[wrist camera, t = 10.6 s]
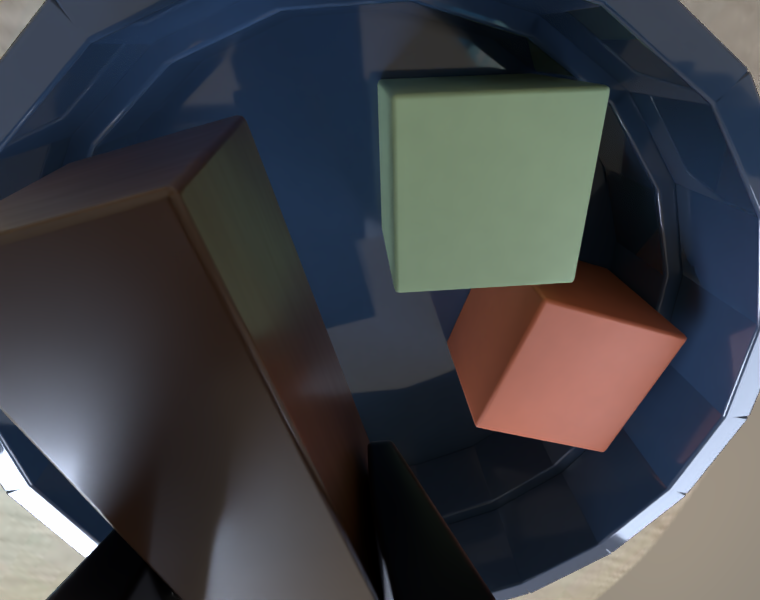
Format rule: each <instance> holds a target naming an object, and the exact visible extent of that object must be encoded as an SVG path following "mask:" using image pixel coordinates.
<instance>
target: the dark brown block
mask: <svg viewBox="0 0 760 600" xmlns="http://www.w3.org/2000/svg"><path fill="white" fill-rule="evenodd" d="M0 409H1V410H2V411H3V412H4V413H5V414H6V416H7V417H8V418H9V419H10V420H11V421H12V422H13V423H14V424H15V425H16V426H17V427H18V428H19V429H20V430H21V431H22V432H23V433H24V434H25V436H26V437H27V438H28V439H29V440H30V441H31V442H32V443H33V444H34V445H35V446H36V447H37V448H38V449H39V450H40V451H41V452H42V453H43V455H44V456H45V457H46V458H47V459H48V460H49V461H50V462H51V463H52V464H53V465H54V466H55V467H56V468H57V469H58V470H59V471H60V472H61V473H62V475H63V476H64V477H65V478H66V479H67V480H68V481H69V482H70V483H71V484H72V485H73V486H74V487H75V488H76V489H77V490H78V491H79V492H80V494H81V495H82V496H83V497H84V498H85V499H86V500H87V501H88V502H89V503H90V504H91V505H92V506H93V507H94V508H95V509H96V510H97V511H98V513H99V514H100V515H101V516H102V517H103V518H104V519H105V520H106V521H107V522H108V523H109V524H110V525H111V526H112V527H113V528H114V529H115V530H116V531H117V533H118V534H119V535H120V536H121V537H122V538H123V539H124V540H125V541H126V542H127V543H128V544H129V545H130V546H131V547H132V548H133V549H134V550H135V552H136V553H137V554H138V555H139V556H140V557H141V558H142V559H143V560H144V561H145V562H146V563H147V564H148V565H149V566H150V567H151V568H152V569H153V570H154V572H155V573H156V574H157V575H158V576H159V577H160V578H161V579H162V580H163V581H164V582H165V583H166V584H167V585H168V586H169V587H170V588H171V589H172V591H173V592H174V593H175V594H176V595H177V596H178V597H179V598H180V599H181V600H383V596H382V590H381V585H380V579H379V572H378V566H377V558H376V549H375V541H374V532H373V524H372V515H371V506H370V494H369V474H368V454H367V445H368V443H370V442H369V439H368V437H367V434H366V431H365V429H364V426H363V423H362V421H361V418H360V416H359V413H358V410H357V408H356V405H355V403H354V400H353V397H352V395H351V392H350V390H349V387H348V384H347V382H346V379H345V377H344V374H343V371H342V369H341V366H340V364H339V361H338V358H337V356H336V353H335V351H334V348H333V345H332V343H331V340H330V337H329V335H328V332H327V330H326V327H325V324H324V322H323V319H322V317H321V314H320V311H319V309H318V306H317V304H316V301H315V298H314V296H313V293H312V291H311V288H310V285H309V283H308V280H307V278H306V275H305V272H304V270H303V267H302V265H301V262H300V259H299V257H298V254H297V251H296V249H295V246H294V244H293V241H292V238H291V236H290V233H289V231H288V228H287V225H286V223H285V220H284V218H283V215H282V212H281V210H280V207H279V205H278V202H277V199H276V197H275V194H274V192H273V189H272V186H271V184H270V181H269V179H268V176H267V173H266V171H265V168H264V165H263V163H262V160H261V158H260V155H259V152H258V150H257V147H256V145H255V142H254V139H253V137H252V134H251V132H250V129H249V126H248V124H247V121H246V120H245V119H244V117H243V116H239V115H235V116H232V117H228V118H225V119H221V120H218V121H214V122H211V123H207V124H204V125H200V126H197V127H193V128H190V129H186V130H183V131H179V132H176V133H172V134H169V135H165V136H162V137H159V138H155V139H152V140H148V141H145V142H141V143H138V144H134V145H131V146H127V147H124V148H120V149H117V150H113V151H110V152H106V153H103V154H99V155H96V156H92V157H89V158H85V159H82V160H78V161H75V162H71V163H68V164H67V165H65V166H63V167H61V168H59V169H57V170H56V171H54V172H52V173H50V174H48V175H46V176H45V177H43V178H41V179H39V180H37V181H35V182H34V183H32V184H30V185H28V186H26V187H24V188H23V189H21V190H19V191H17V192H15V193H13V194H12V195H10V196H8V197H6V198H4V199H2V200H0Z"/></svg>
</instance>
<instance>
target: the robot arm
mask: <svg viewBox="0 0 760 600" xmlns="http://www.w3.org/2000/svg"><path fill="white" fill-rule="evenodd" d="M367 454H368V474H369V494H370V506H371V515H372V524H373V532H374V541H375V549H376V558H377V566H378V572H379V579H380V585H381V590H382V596H383V600H496V599H495V597H494V596H493V594H492V593H491V591H490V590H489V588H488V587H487V585H486V584H485V582H484V581H483V579H482V578H481V576H480V574H479V573H478V571H477V570H476V568H475V567H474V565H473V564H472V562H471V561H470V559H469V558H468V556H467V555H466V553H465V552H464V550H463V548H462V547H461V545H460V544H459V542H458V541H457V539H456V538H455V536H454V535H453V533H452V532H451V530H450V529H449V527H448V526H447V524H446V522H445V521H444V519H443V518H442V516H441V515H440V513H439V512H438V510H437V509H436V507H435V506H434V504H433V503H432V501H431V499H430V498H429V496H428V495H427V493H426V492H425V490H424V489H423V487H422V486H421V484H420V483H419V481H418V480H417V478H416V477H415V475H414V473H413V472H412V470H411V469H410V467H409V466H408V464H407V463H406V461H405V460H404V458H403V457H402V455H401V454H400V452H399V451H398V449H397V447H396V446H395V444H394V443H393V442H392V441H390V440H385V441H375V442H370V443H368V445H367ZM46 600H181V599H180V598H179V597H178V596H177V595H176V594H175V593H174V592H173V591H172V589H171V588H170V587H169V586H168V585H167V584H166V583H165V582H164V581H163V580H162V579H161V578H160V577H159V576H158V575H157V574H156V573H155V572H154V570H153V569H152V568H151V567H150V566H149V565H148V564H147V563H146V562H145V561H144V560H143V559H142V558H141V557H140V556H139V555H138V554H137V553H136V552H135V550H134V549H133V548H132V547H131V546H130V545H129V544H128V543H127V542H126V541H125V540H124V539H123V538H122V537H121V536H120V535H119V534H118V533H117V531H116V530H115V529H113V530H112V531H111V532H110V534H109V535H108V536H107V537H106V538H105V539H104V540H103V541H102V542H101V543H100V544H99V545H98V546H97V547H96V548H95V549H94V550H93V551H92V552H91V553H90V554H89V555H88V556H87V557H86V558H85V559H84V560H83V562H82V563H81V564H80V565H79V566H78V567H77V568H76V569H75V570H74V571H73V572H72V573H71V574H70V575H69V576H68V577H67V578H66V579H65V580H64V581H63V582H62V583H61V584H60V585H59V586H58V587H57V588H56V590H55V591H54V592H53V593H52V594H51V595H50V596H49V597H48V598H47V599H46Z"/></svg>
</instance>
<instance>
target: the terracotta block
mask: <svg viewBox="0 0 760 600" xmlns="http://www.w3.org/2000/svg"><path fill="white" fill-rule="evenodd" d="M686 340H687V337H686V336H685V335H684V334H683V333H682V332H681V331H680V330H678V329H677V328H676V327H675V326H674V325H673V324H671V323H670V322H669V321H668V320H667V319H666V318H664V317H663V316H662V315H661V314H660V313H659V312H657V311H656V310H655V309H654V308H653V307H651V306H650V305H649V304H648V303H647V302H646V301H644V300H643V299H642V298H641V297H640V296H639V295H637V294H636V293H635V292H634V291H633V290H632V289H630V288H629V287H628V286H627V285H626V284H625V283H623V282H622V281H621V280H620V279H619V278H617V277H616V276H615V275H614V274H613V273H612V272H610V271H609V270H608V269H606V268H603V267H600V266H596V265H593V264H589V263H586V262H582V261H579V260H578V262H577V268H576V273H575V278H574V281H573V282H570V283H554V284H537V285H521V286H504V287H487V288H471V290H470V293H469V295H468V297H467V299H466V301H465V304H464V306H463V308H462V310H461V312H460V315H459V317H458V319H457V321H456V323H455V326H454V328H453V330H452V332H451V334H450V337H449V339H448V341H447V345H448V348H449V351H450V354H451V357H452V360H453V363H454V365H455V368H456V371H457V374H458V377H459V380H460V383H461V386H462V389H463V392H464V394H465V397H466V400H467V403H468V406H469V409H470V412H471V415H472V418H473V421H474V423H475V425H476V427H478V428H483V429H488V430H493V431H498V432H503V433H508V434H513V435H518V436H523V437H528V438H533V439H538V440H543V441H549V442H554V443H559V444H564V445H569V446H574V447H579V448H584V449H589V450H594V451H599V452H604V451H606V450H607V448H608V447H609V446H610V444H611V443H612V441H613V440H614V439H615V437H616V436H617V435H618V433H619V432H620V430H621V429H622V428H623V426H624V425H625V424H626V422H627V421H628V420H629V418H630V417H631V415H632V414H633V413H634V411H635V410H636V409H637V407H638V406H639V404H640V403H641V402H642V400H643V399H644V398H645V396H646V395H647V394H648V392H649V391H650V389H651V388H652V387H653V385H654V384H655V383H656V381H657V380H658V379H659V377H660V376H661V374H662V373H663V372H664V370H665V369H666V368H667V366H668V365H669V363H670V362H671V361H672V359H673V358H674V357H675V355H676V354H677V353H678V351H679V350H680V348H681V347H682V346H683V344H684V343H685V342H686Z"/></svg>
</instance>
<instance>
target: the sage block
mask: <svg viewBox="0 0 760 600" xmlns="http://www.w3.org/2000/svg"><path fill="white" fill-rule="evenodd" d="M377 87H378V119H379V152H380V184H381V217H382V231H383V236H384V241H385V246H386V251H387V255H388V260H389V265H390V270H391V275H392V280H393V284H394V289H395V291H396V292H399V293H403V292H420V291H437V290H453V289H470V288H487V287H504V286H521V285H537V284H554V283H570V282H573V281H574V278H575V273H576V268H577V262H578V257H579V252H580V247H581V241H582V236H583V231H584V225H585V220H586V215H587V209H588V204H589V199H590V194H591V188H592V183H593V178H594V172H595V167H596V162H597V156H598V151H599V146H600V141H601V135H602V130H603V125H604V119H605V114H606V109H607V103H608V98H609V93H610V90H609V87H608V86H606V85H602V84H596V83H590V82H583V81H577V80H571V79H564V78H558V77H551V76H545V75H539V74H532V73H527V74H502V75H476V76H450V77H425V78H399V79H381V80H379V81H378V84H377Z"/></svg>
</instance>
